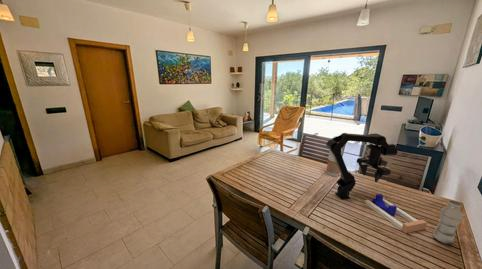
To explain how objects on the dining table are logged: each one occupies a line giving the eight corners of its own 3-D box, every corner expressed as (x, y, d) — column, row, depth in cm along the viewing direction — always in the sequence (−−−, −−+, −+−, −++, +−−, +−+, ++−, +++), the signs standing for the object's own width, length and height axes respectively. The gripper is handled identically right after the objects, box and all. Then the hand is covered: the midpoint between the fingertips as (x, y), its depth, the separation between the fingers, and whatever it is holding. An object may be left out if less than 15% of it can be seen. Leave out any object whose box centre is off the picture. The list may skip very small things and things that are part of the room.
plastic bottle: (428, 235, 90) (439, 198, 85) (441, 234, 91) (453, 198, 85) (443, 246, 84) (456, 208, 78) (456, 245, 84) (471, 207, 79)
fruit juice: (331, 177, 145) (336, 142, 137) (323, 171, 154) (327, 138, 146) (342, 175, 147) (347, 141, 139) (333, 170, 155) (338, 137, 148)
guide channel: (405, 233, 91) (407, 226, 90) (364, 203, 114) (365, 197, 113) (425, 229, 94) (427, 222, 93) (381, 200, 116) (382, 194, 115)
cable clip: (371, 202, 114) (373, 194, 113) (379, 202, 114) (381, 194, 113) (386, 216, 103) (388, 207, 101) (394, 216, 103) (396, 207, 101)
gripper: (401, 160, 105) (395, 184, 110) (372, 148, 123) (367, 170, 127) (385, 161, 103) (379, 187, 107) (357, 149, 120) (353, 172, 125)
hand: (369, 178), depth 117 cm, fingers open, 8 cm apart
